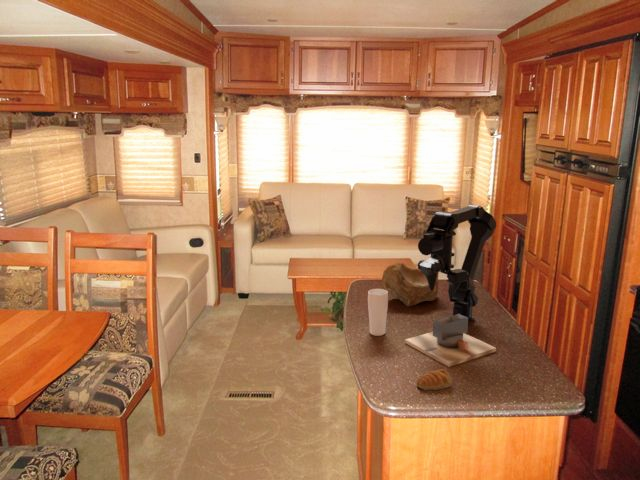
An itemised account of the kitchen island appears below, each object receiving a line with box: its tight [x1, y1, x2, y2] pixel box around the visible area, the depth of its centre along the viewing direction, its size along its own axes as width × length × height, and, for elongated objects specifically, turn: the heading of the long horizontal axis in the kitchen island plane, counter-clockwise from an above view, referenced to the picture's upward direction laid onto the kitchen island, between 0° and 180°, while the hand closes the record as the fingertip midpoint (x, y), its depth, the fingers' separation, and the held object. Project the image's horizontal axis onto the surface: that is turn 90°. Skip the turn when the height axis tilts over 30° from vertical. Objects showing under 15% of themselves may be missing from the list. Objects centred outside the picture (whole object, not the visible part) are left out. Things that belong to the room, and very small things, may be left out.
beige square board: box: [404, 331, 497, 368], centre depth 169 cm, size 20×20×1 cm
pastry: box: [416, 368, 453, 391], centre depth 145 cm, size 9×7×4 cm
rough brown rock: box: [381, 261, 440, 307], centre depth 209 cm, size 23×17×15 cm
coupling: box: [432, 314, 469, 350], centre depth 166 cm, size 11×11×8 cm
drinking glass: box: [367, 288, 389, 337], centre depth 178 cm, size 7×7×15 cm
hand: (441, 294), depth 180 cm, fingers open, 9 cm apart
